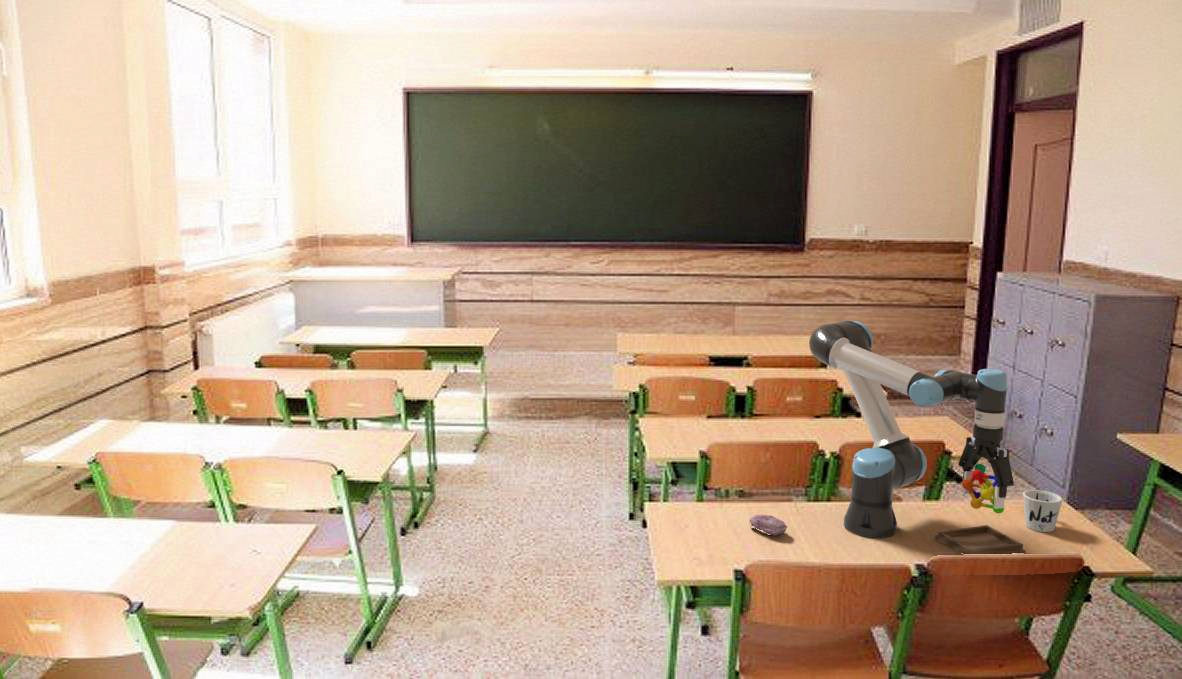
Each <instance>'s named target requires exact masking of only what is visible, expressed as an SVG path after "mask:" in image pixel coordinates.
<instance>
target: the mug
mask: <svg viewBox="0 0 1182 679" xmlns="http://www.w3.org/2000/svg"><path fill="white" fill-rule="evenodd" d="M1022 498H1023V499H1022V500H1023V510H1024V511H1023V512H1024V521H1025V527H1026V528H1028V529H1030V530H1032V531H1035V532H1039V533H1051V532H1053V531H1054V530H1055V527H1056V525H1057V521H1058V517H1059V514H1060V511H1061V507H1062V504H1063V497H1062V496H1060V495H1058V494H1057V493H1054V492H1052V491H1046V490H1040V489H1032V490H1031V489H1030V490H1025V491H1023V493H1022Z"/></svg>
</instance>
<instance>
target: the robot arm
mask: <svg viewBox="0 0 1182 679" xmlns="http://www.w3.org/2000/svg"><path fill="white" fill-rule="evenodd" d="M808 343H809V345H808V346H809V350H810V352H811V355H812V356H813V357H814V358H816V359H817V360H818V361H819V362H821V363H823V364H825V365H827V366H829V367H832V368H836V369H838V370H839V371H842V372H844V374H845V376H846V379H847V381H848V383H849V386H850V388H851V391H852V393H853V395H854V398H855V400H856V402H857V405H858V407H859V409H860V412H861V414H862V417H863V419H864V422H865V423H866V425H867V426H866V427H867V428H868V431H869V434H870V436H871V438H872V440H873V446H872V448H869V447H868V448H867V447H866V448H864V449H861V450H859V451H857V452H856V453H855V454H854V457H853V461H852V465H851V469H852V478H851V495H850V496H851V498H850V503H849V504H848V505H849V506H848V507H847V510H846V513H845V515H844V518H843V526H845V527H844V528H845V529H846V530H847V531H849V532H850V531H851V532H850V533H852V532H853V534H855V533H856V535H858V536H863V537H866V538H867V537H868V538H876V539H877V538H880V539H881V538H887V537H891V536H894V535H895V534H896V533H897V532H898V521H897V518H896V514H895V510H894V509H893V495H894V490H897V489H900V488H902V487H905V486H909V485H912V484H915V483H916V482H917V481H919V480H920V479H922V478H923V476H924V475H925V473H926V471H927V463H928V462H927V457H926V454H925V453H924V452H923V450H922V448H920V447H918V446H917V444H916V445H915V444H914V443H913V442H912V441H911V439H910V437H909V435H906V434H904V433H902V431H901V429H900V427H899V424H898V421H897V419H896V417H895V415H894V412H893V411H892V408H891V406H890V403H889V401H888V399H887V396H886V394H885V392H884V389H883V386H884V387H887V388H890V389H891V390H893V391H894V390H895V391H896V392H898V393H900V394H903V395H906V396H908V397H910V398H909V399H910V400H911V401H912V402H913V403H914V404H915V406H918V407H921V408H927V407H928V408H930V407H934V406H938V405H940V404H944V403H946V402H951V401H954V400H964V401H969V402H974V404H975V405H974V407H975V408H974V422H973V423H974V425H973V431H972V436H967V437H966V439H965V446H964V448H963V451H962V453H961V456H960V458H959V460H958V462H957V464H958V467H961V468H962V471H963V473H962V474H963V476H962V480H963V481H964V480H966V479H970V478H971V477H972V472H973V471H975V466H976V465H977V464H978V462H979V461H980V460H981V459H982V458H984V460H985V459H986V460H987V463H988V464H990V466H991V469H992V472H993V474H994V475H993V476H995V477H996V480H997V483H998V484H997V485H996V486H995V499H994V508H995V509H999V508H1004V509H1005V502H1006V501H1005V500H1006V499H1005V498H1006V497H1007V494H1008V493H1007V492H1008V487H1013V486H1014V485H1015V481H1014V477H1013V472H1012V467H1011V466H1012V465H1011V463H1010V450H1009V449H1007V448H1005V449H1004V448H1001V442H1002V441H1003V439H1004V428H1003V427H1004V426H1005V420H1006V419H1005V418H1006V401H1007V391H1008V388H1009V387H1008V374H1007V373H1006V372H1005V371H1003V370H1000V369H996V368H995V369H993V368H983V369H979V370H978V371H977V374H973V373H967V372H963V371H962V372H961V371H956V370H954V369H940V370H938V371H937V373H934V375H933V376H931V375H928V374H927V373H924V372H922V371H919V370H916V369H914V368H911V367H909V366H907V365H904V364H901V363H899V362H896V361H895V360H893V359H890V358H887V357H884V356H882V355H879V354H877V353H875V352H872V348H873V343H874V337H873V333H872V331H871V330H870V328H869V327H868V326H867V325H866V324H864V323H862V322H860V321H858V320H857V321H856V320H843V321H841V322H834V323H826V324H822V325H820V326H818V327H817V328H816V329H814V331H813V332H812V333H811V335H810V337H809V342H808ZM1002 480H1003V482H1002ZM974 481H975V480H974ZM974 481H973V484H975V483H974ZM962 488H963V487H962ZM962 492H963V494H964V495H965V494H967V495H968V494H970V493H969V491H968V490H967V489H964V488H963V490H962Z"/></svg>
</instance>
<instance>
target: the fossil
mask: <svg viewBox="0 0 1182 679" xmlns="http://www.w3.org/2000/svg"><path fill="white" fill-rule="evenodd" d="M750 523H751V525H752V526H754V527H755V528H757V529H759V530H763V531H764V532H766V533H768V534H770V535H773V536H780V535H779V534H782V535H784V534H785V533H786V531H787V528H788V526H787V525H786V524H785V522H784V521H783V520H781V519H779V518H777V517H775V516H774V515H768V514H765V515H764V514H755V515H753V516H751V517H750V518H749V524H750Z"/></svg>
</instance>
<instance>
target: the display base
mask: <svg viewBox="0 0 1182 679" xmlns="http://www.w3.org/2000/svg"><path fill="white" fill-rule="evenodd" d="M934 539H935V540H937V542H940V543H941V544H944V545H945V546H947V547H948V548H950V549H951V550H953V551H955V552H957V553H959V554H960V553H963V554H1012V553H1025V554H1026V550H1025V549H1024V543H1021V542H1020V541H1018V540H1016V539H1014V538H1012V537H1010V536H1008V535H1006V534H1005V533H1003V532H1001V531H999V530H997V529H995V528H993V527H991V526H990V525H987V524H985V525H978V526H970V527H969V526H968V527H963V528H955V529H948V530H941V531H937V534H935V536H934Z"/></svg>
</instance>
